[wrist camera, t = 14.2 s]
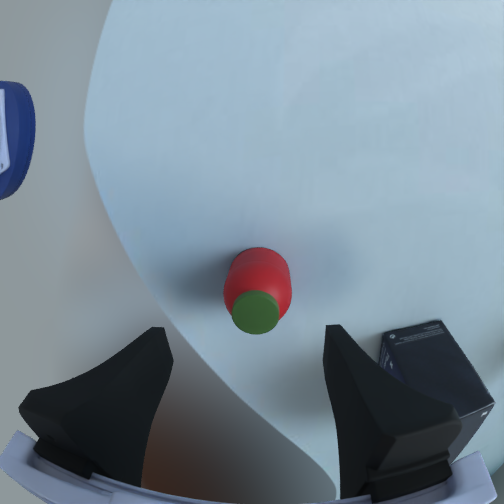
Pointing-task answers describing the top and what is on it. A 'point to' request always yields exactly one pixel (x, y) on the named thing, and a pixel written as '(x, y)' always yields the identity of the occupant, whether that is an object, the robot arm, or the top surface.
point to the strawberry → (257, 290)
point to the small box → (438, 374)
